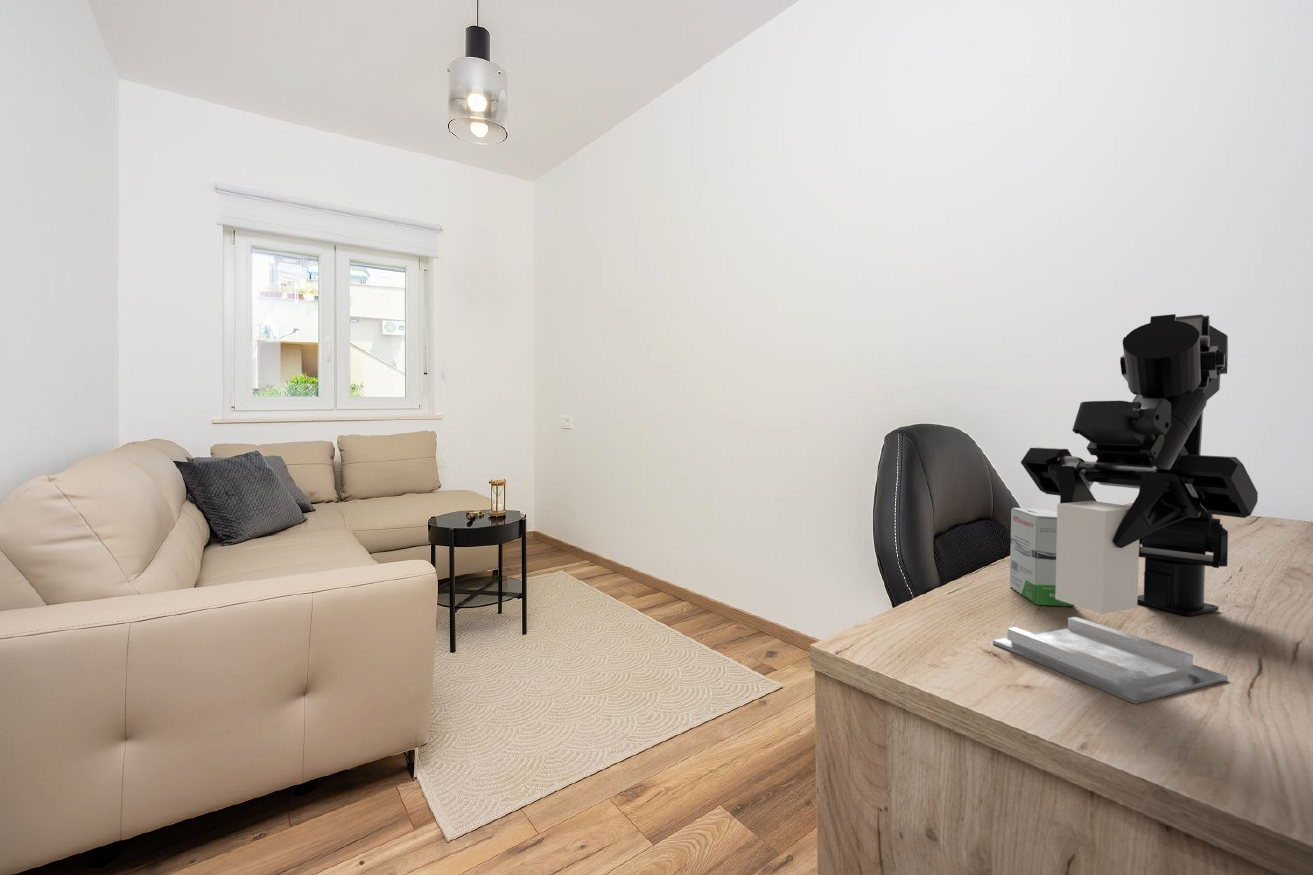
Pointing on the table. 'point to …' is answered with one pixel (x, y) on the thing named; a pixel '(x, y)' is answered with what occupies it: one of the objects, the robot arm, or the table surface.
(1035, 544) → the ink box
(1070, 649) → the rail panel
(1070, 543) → the block
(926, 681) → the table surface
